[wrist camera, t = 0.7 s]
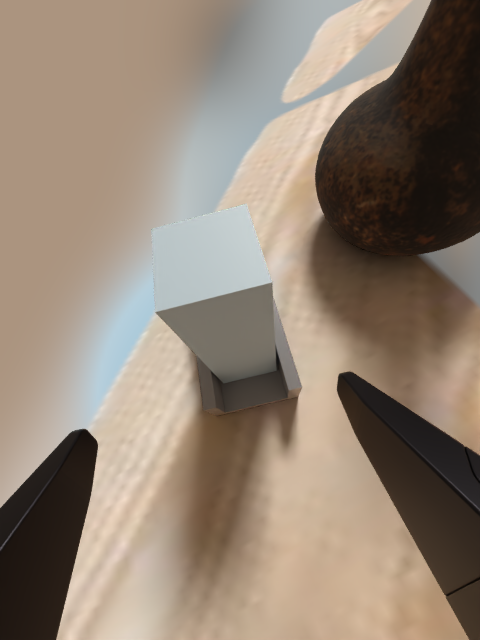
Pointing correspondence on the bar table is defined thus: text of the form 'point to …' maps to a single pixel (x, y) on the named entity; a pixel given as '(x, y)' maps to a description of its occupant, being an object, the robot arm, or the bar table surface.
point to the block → (217, 291)
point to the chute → (252, 382)
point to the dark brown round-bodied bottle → (411, 145)
